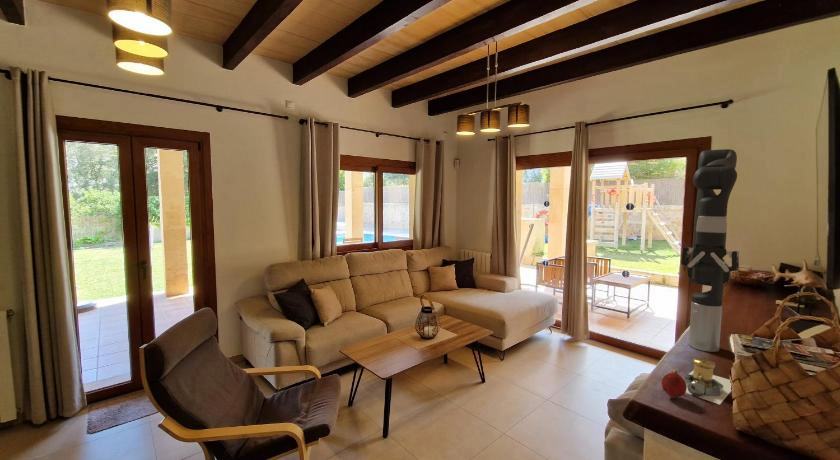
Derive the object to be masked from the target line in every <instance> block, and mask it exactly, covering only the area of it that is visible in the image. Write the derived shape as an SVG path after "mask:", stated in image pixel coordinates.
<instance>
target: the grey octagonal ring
mask: <svg viewBox="0 0 840 460" xmlns="http://www.w3.org/2000/svg"><path fill="white" fill-rule="evenodd" d="M683 378H684V381H685V383H686V386H687V388H688V391H689V392H690V393H691V394H692V395H691V394H690V395H691V396H693V395H694V397H696V396H697V398H699V396H702V395H706V396H720V395H721V394H722V393H723V385H722V384H721V383H719V382H718V381H716V380H715V379H712V387H706V386H705V385H704V383H702V382H701V381H698V380H694V381H693V375H690V374H689V373H688V374H686V375H685V376H684V377H683Z"/></svg>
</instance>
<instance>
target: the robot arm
mask: <svg viewBox="0 0 840 460" xmlns="http://www.w3.org/2000/svg"><path fill="white" fill-rule="evenodd" d="M737 158H738V157H737V152H736V151H735V150H733V149H730V148H729V149H728V148H725V149H723V148H722V149H709V150H708V149H706V150H702V151H701V152H700V154H699V156H698V162H697V163H698V165H697V168H698V169H697V170H696V171H695V173H694V175H693V178H692V179H693V183H692V184H693V185H694V187H695V188H696V189H697V195H696V203H695V208H694V209H695V210H694V218H693V219H694V221H693V222H694V223H693V236H692V237H693V238H692V245H691V247H689V246H685V247H684V246H683V248H682V256H681V261H680V262H681V263H680V264H681V265H683V266H685V267H687V278H688V281H689V282H690V283H691V284H695V285H702V286H705V287H706V286H709V287H711V288H710V290H707V291H703V292H695V293H693V294H692V295H691V303H690V316H689V317H690V318H689V320H690V321H689V334H688V335H689V336H688V346H689V347H691V348H693V349H695V350H700V351H702V352H703V351H704V352H710V353H711V352H712V353H715V352H716V353H717V352H719V351H720V344H721V343H720V340H721V330H722V329H721V328H722V314H723V313H722V312H723V300H724V299H723V298H724V290H725V289H724V288H725V284H727V283H729V282H730V280H731V272H736V271H739V269H740V265H739V264H740V261H739V260H740V258H739V257H740V255H739V253H740V251H738V250H727V249H726V245H727V232H728V230H727V229H728V220H727V215H728V204H729V199H730V195H731V193H732V191H733V188H734V186H735V184H736V182H737V178H738V172H737V170H736V167H737V162H738V161H737ZM715 190H720V192H719V193H718V194H716V192H715ZM689 256H690V257H689ZM725 256H728V257H729V258H730V259H731V266H729V264H728V263H727V261H726V260H725V259H724V257H725Z"/></svg>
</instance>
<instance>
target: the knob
mask: <svg viewBox="0 0 840 460" xmlns="http://www.w3.org/2000/svg"><path fill="white" fill-rule="evenodd" d="M692 363H693V370H694V372H693V381H694V380H698V381H701V382H702V383H704V385H705V386H706V387H712V377H713V375H714V369H715V368H716V363H715V362H714V361H713V360H710V359H707V358H705V357H693V359H692Z"/></svg>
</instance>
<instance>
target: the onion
mask: <svg viewBox="0 0 840 460" xmlns="http://www.w3.org/2000/svg"><path fill="white" fill-rule="evenodd" d="M683 378H684V377H682V376H681V375H679V374H678V371H677V369H673V370H672V371H671V372H670V373H667V374H665V375H664V376H663V377H662V379H661V387H662V390H663V391H664V392H665V394H667V395H668V397H670V398H672V399H676V398H680V397H681V396H684V395H685V394H686V393H685V392H686V390H687V386H686V383H685V381H684V379H683Z"/></svg>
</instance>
